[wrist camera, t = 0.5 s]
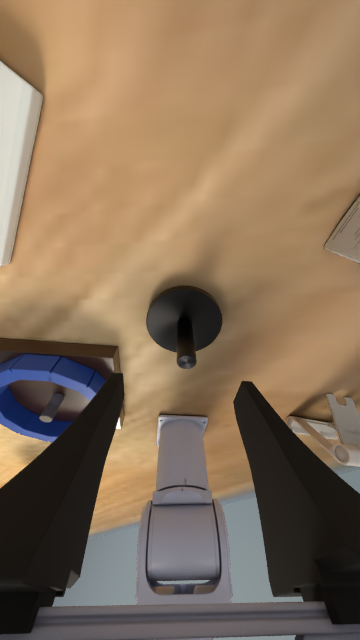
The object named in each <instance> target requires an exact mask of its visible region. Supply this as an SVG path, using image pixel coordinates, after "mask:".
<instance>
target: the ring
mask: <svg viewBox="0 0 360 640" xmlns="http://www.w3.org/2000/svg"><path fill="white" fill-rule="evenodd" d="M17 380H36V381H51V382H54V383H56V384H59V385H62V386H64V387H67V388H70V389H72V390H75V391H78V392H80V393H81V394H82V395H83V396H84V397H86V398H87V399H88V400H89V401H91V400H92V398H93V397H94V396H95V395H96V393H97V392H98V391H99V389H100V388H101V387H102V385H103V384H104V383H105V380H104V379H103V378H102V377H101V376H100V375H99V374H98V373H97V372H94V370H93V369H91V368H88V367H86V366H84V365H81V364H79V363H77V362H74V361H72V360H69V359H67V358H65V357H62V358H61V357H60V356H50V355H34V354H25V355H24V354H23V355H20V356H18V357H16V358H13V359H11V360H9V361H6V362H4V363H2V364H0V424H2V425H4V426H5V427H7V428H9V429H11V430H12V431H14V432H16V433H20V434H21V435H25V436H28V437H32V438H36V439H39V440H43V441H47V442H48V441H49V442H53V441H55V440H56V439H57V437H58V436H59V435H60V434H61V433H62V432H63V431H64V430H65V429H66V428H67V427H68V426H69V425H70V424H71V423H72V422H73V421H56V420H52V421H51V422H43V421H41V420H40V419H39V417H40V415H37V414H35V413H33V412H31V411H30V410H28V409H27V408H25V407H24V406H22V405H21V404H19V403H18V402H17V401H16V399H15V398H14V396H13V394H12V393H11V391H10V389H9V387H8V385H9V383H12V382H14V381H17Z"/></svg>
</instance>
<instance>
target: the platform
mask: <svg viewBox="0 0 360 640" xmlns="http://www.w3.org/2000/svg"><path fill="white" fill-rule="evenodd" d="M23 354H24V355H25V354H34V355H50V356H60V357H61V358H62V357H65V358H67V359H69V360H72V361H74V362H77V363H79V364H81V365H84V366H86V367H88V368H91V369H93V370H94V372H97V373H98V374H99V375H100V376H101V377H102V378H103V379H104V380H105V381H106V380H107V378H108V377H109V375H110V374H111V373H120V366H119V356H118V347H117V346H103V345H89V344H74V343H60V342H45V341H31V340H17V339H2V338H0V364H2V363H4V362H6V361H9V360H11V359H13V358H16V357H18V356H20V355H23ZM8 387H9V389H10V391H11V393H12V394H13V396H14V398H15V399H16V401H17V402H18V403H19V404H21V405H22V406H24V407H25V408H27V409H28V410H30V411H31V412H33V413H35V414H37V415H40V417H39V419H40V420H41V421H43V422H51V421H52V420H56V421H74V420H75V418H76V417H77V416H78V415H79V414H80V413H81V412H82V411H83V409H84V408H85V407H86V406H87V405H88V403H89V402H90V401H89V400H88V399H87V398H86V397H84V396H83V395H82V394H81V393H80V392H78V391H75V390H72V389H70V388H67V387H64V386H62V385H59V384H56V383H54V382H51V381H36V380H17V381H14V382H12V383H9V385H8ZM123 421H124V409H123V405H122V409H121V414H120V417H119V420H118V423H117V426H116V429H122V425H123Z"/></svg>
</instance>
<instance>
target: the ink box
mask: <svg viewBox="0 0 360 640" xmlns="http://www.w3.org/2000/svg"><path fill="white" fill-rule="evenodd" d="M324 247H325V249H326V250H328V251H330V252H333V253H335V254H338V255H340V256H343V257H345V258H347V259H350V260H352V261H355V262H357V263H360V196H359V198H358V199H357V200H356V201H355V203H354V204H353V205H352V207H351V208H350V209H349V211H348V212H347V213H346V215H345V216H344V218H343V219H342V220H341V222H340V223H339V225H338V226H337V228H336V229H335V231H334V232H333V234H332V235H331V237H330V238H329V240H328V241H327V243H326V244H325V246H324Z"/></svg>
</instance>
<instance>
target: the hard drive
mask: <svg viewBox="0 0 360 640" xmlns="http://www.w3.org/2000/svg"><path fill="white" fill-rule="evenodd" d="M42 102H43V95H42V94H41V93H40V92H39V91H38V90H36V89H35V88H34V87H33V86H31V85H30V84H29V83H27V82H26V81H25V80H24V79H22V78H21V77H20V76H19V75H17V74H16V73H15V72H14V71H12V70H11V69H10V68H9V67H7V66H6V65H5V64H4V63H2V62H1V61H0V267H2V266H4V265H7V264H10V261H11V256H12V251H13V247H14V242H15V237H16V232H17V227H18V222H19V217H20V212H21V207H22V202H23V197H24V192H25V187H26V182H27V177H28V171H29V166H30V161H31V157H32V151H33V147H34V142H35V137H36V132H37V127H38V122H39V118H40V112H41V108H42Z"/></svg>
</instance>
